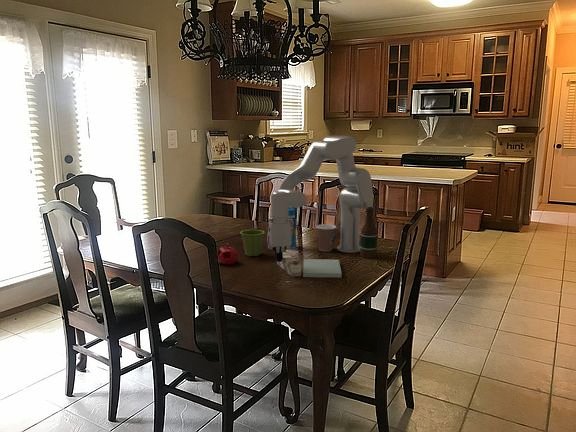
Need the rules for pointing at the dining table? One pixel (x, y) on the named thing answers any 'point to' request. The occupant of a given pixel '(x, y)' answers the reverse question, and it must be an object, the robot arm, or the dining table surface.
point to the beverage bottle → (292, 226)
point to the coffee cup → (326, 236)
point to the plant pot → (252, 241)
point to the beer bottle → (368, 236)
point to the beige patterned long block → (290, 265)
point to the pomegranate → (227, 255)
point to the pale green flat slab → (321, 268)
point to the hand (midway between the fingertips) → (278, 261)
